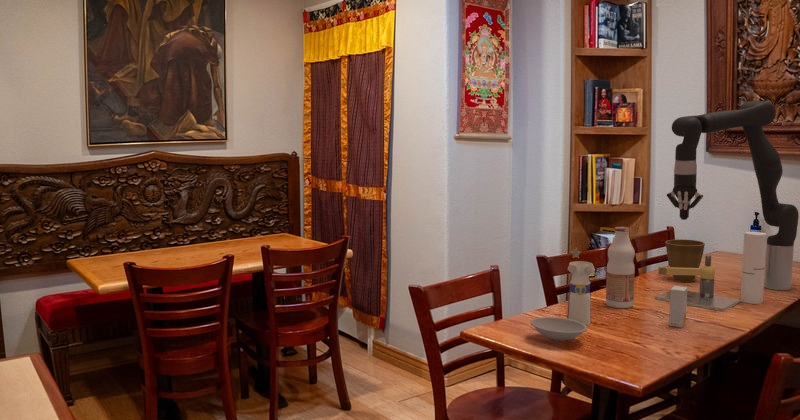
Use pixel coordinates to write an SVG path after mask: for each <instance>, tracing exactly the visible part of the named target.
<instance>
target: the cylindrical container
mask: <svg viewBox="0 0 800 420" xmlns="http://www.w3.org/2000/svg"><path fill="white" fill-rule="evenodd" d="M767 237H768V236H767V233H766V232H759V231H744V234H743V249H742V264H741V265H742V267H741V284H740V285H741V287H740V300H741V302H742V303H745V304H751V305H753V304H754V305H759V304H760V305H761V304H763V302H764V300H763V299H764V288H765V287H764V282H765V266H766V249H767Z"/></svg>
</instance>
